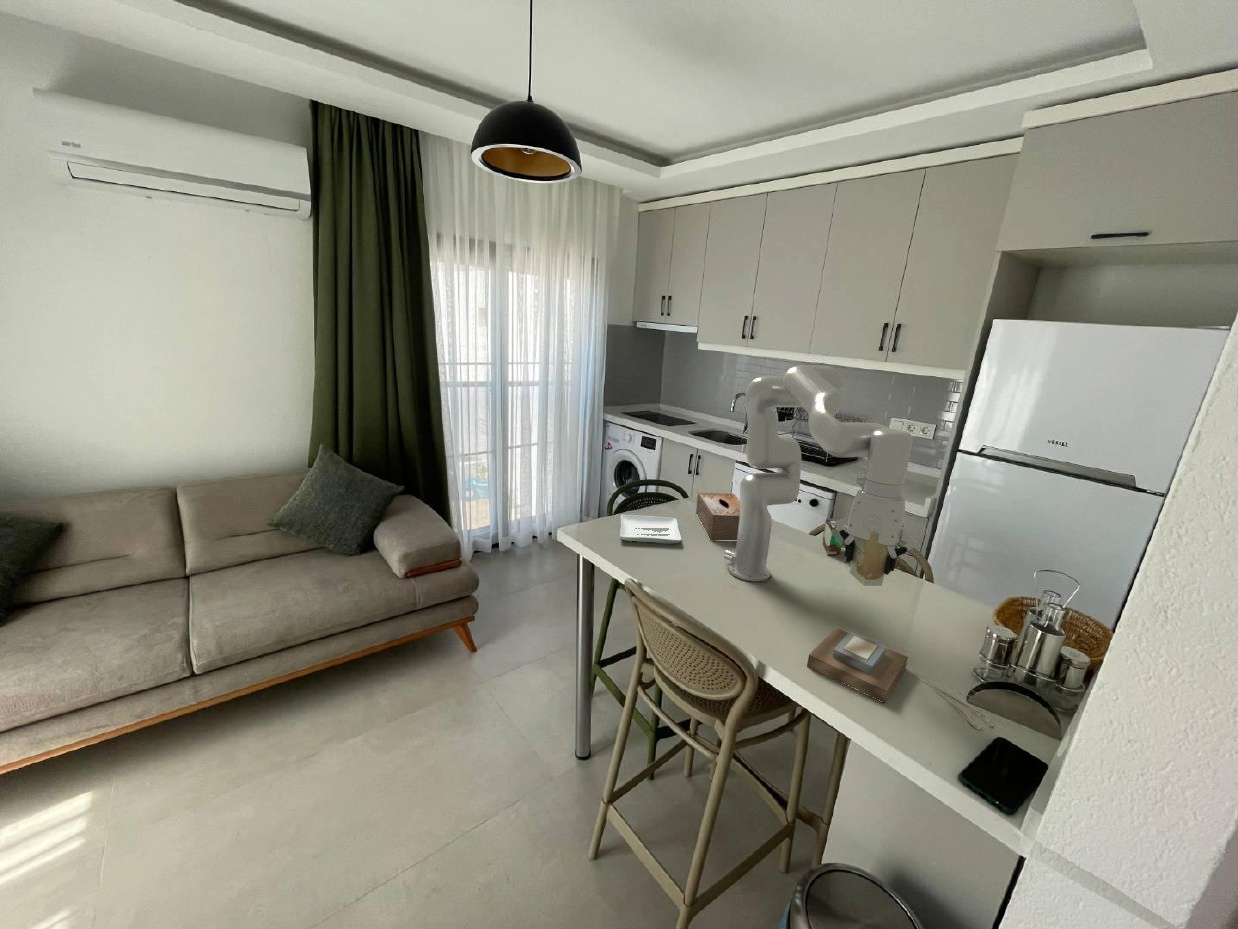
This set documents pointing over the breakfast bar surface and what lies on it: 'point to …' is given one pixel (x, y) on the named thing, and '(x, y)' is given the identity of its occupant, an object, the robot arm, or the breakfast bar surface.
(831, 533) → the food container
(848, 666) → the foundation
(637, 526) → the salad plate
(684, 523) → the breakfast bar surface
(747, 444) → the robot arm
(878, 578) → the skincare box
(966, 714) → the tweezers
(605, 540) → the breakfast bar surface
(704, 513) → the tissue box cover
